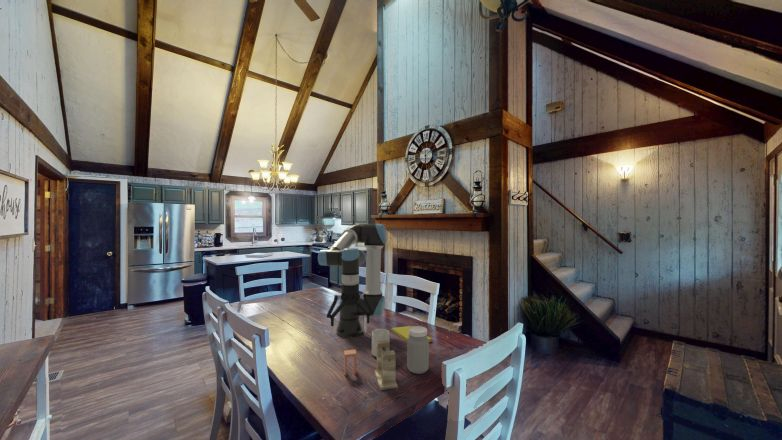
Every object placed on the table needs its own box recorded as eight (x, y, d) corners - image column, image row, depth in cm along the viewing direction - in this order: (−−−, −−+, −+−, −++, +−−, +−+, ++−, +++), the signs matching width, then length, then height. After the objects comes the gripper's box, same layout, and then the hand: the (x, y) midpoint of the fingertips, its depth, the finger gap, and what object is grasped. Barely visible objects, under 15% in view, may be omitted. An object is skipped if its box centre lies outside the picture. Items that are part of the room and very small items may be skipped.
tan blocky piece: (374, 371, 128) (374, 340, 128) (389, 370, 130) (389, 339, 130) (380, 390, 115) (380, 355, 115) (397, 387, 116) (398, 353, 116)
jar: (412, 361, 138) (413, 323, 138) (432, 367, 133) (432, 327, 133) (403, 371, 129) (403, 330, 129) (423, 377, 124) (423, 335, 124)
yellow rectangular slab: (431, 342, 160) (408, 328, 181) (431, 338, 160) (408, 324, 181) (413, 347, 154) (391, 331, 175) (413, 343, 154) (391, 328, 175)
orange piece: (344, 375, 125) (344, 354, 125) (343, 370, 129) (344, 350, 129) (356, 374, 127) (356, 353, 126) (355, 369, 130) (355, 349, 130)
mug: (387, 359, 140) (387, 336, 140) (369, 358, 141) (369, 335, 141) (391, 348, 152) (391, 327, 152) (374, 347, 153) (375, 326, 153)
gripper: (321, 286, 121) (320, 337, 121) (380, 284, 127) (379, 332, 127) (321, 283, 128) (320, 331, 128) (376, 280, 134) (376, 326, 134)
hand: (350, 332), depth 128 cm, fingers open, 13 cm apart
